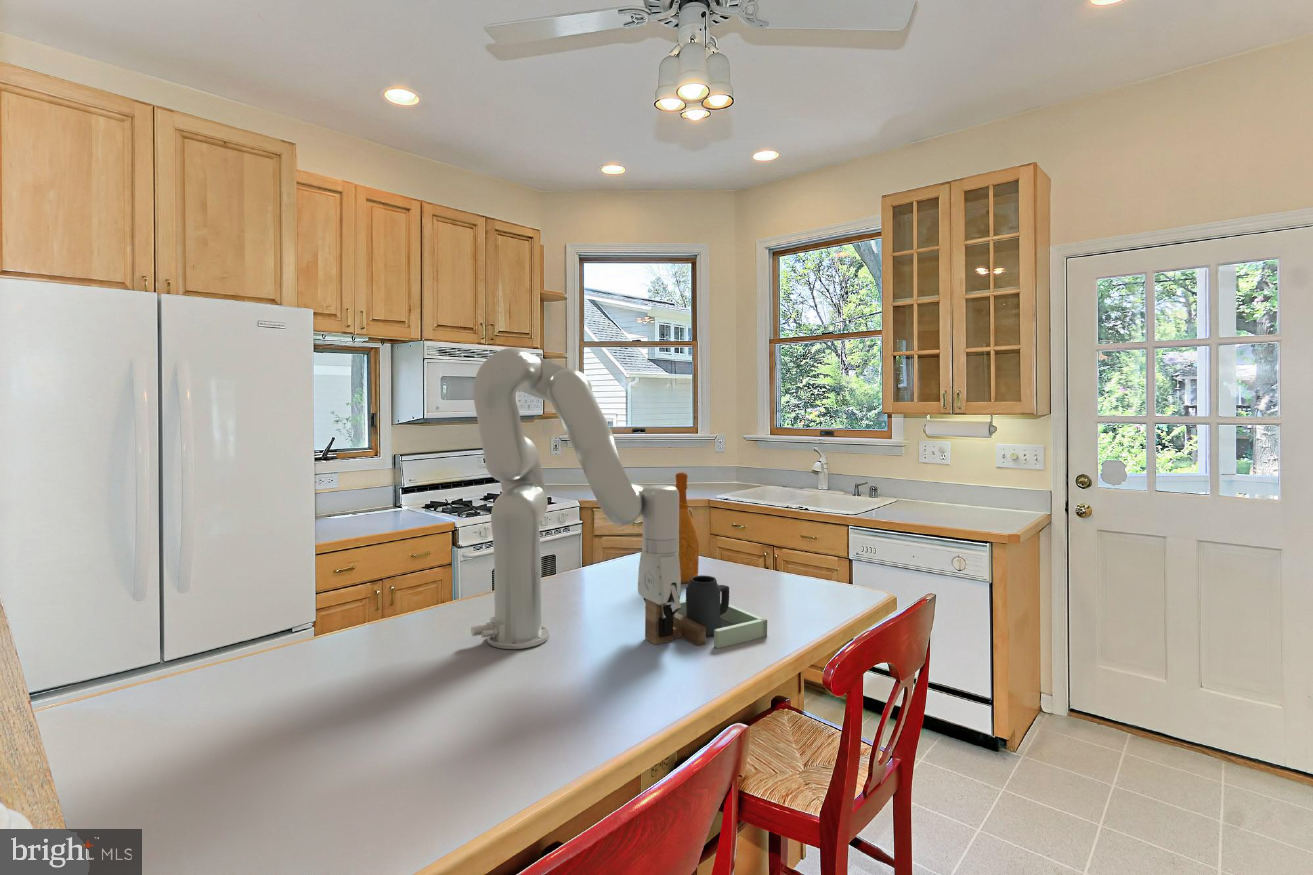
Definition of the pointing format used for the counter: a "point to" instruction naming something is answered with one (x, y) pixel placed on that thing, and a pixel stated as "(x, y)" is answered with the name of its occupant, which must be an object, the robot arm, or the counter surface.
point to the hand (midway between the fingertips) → (659, 631)
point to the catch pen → (736, 626)
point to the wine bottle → (686, 534)
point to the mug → (706, 602)
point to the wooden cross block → (680, 626)
